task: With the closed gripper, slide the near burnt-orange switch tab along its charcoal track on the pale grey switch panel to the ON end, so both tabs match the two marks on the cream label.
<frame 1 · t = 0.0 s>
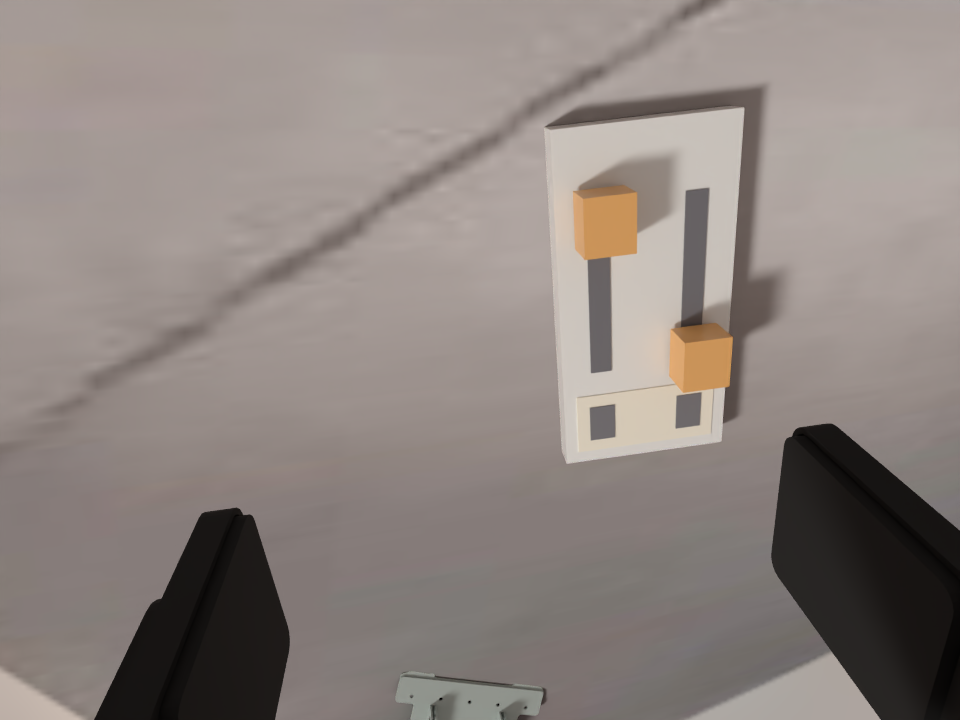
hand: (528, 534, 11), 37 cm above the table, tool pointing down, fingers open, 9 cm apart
metal bracket: (458, 717, 68), on the table
switch tab A: (604, 222, 43), point 4 cm above the table, slide at 0.0 cm
switch panel: (637, 296, 49), on the table
switch tab B: (699, 357, 48), point 4 cm above the table, slide at 11.0 cm
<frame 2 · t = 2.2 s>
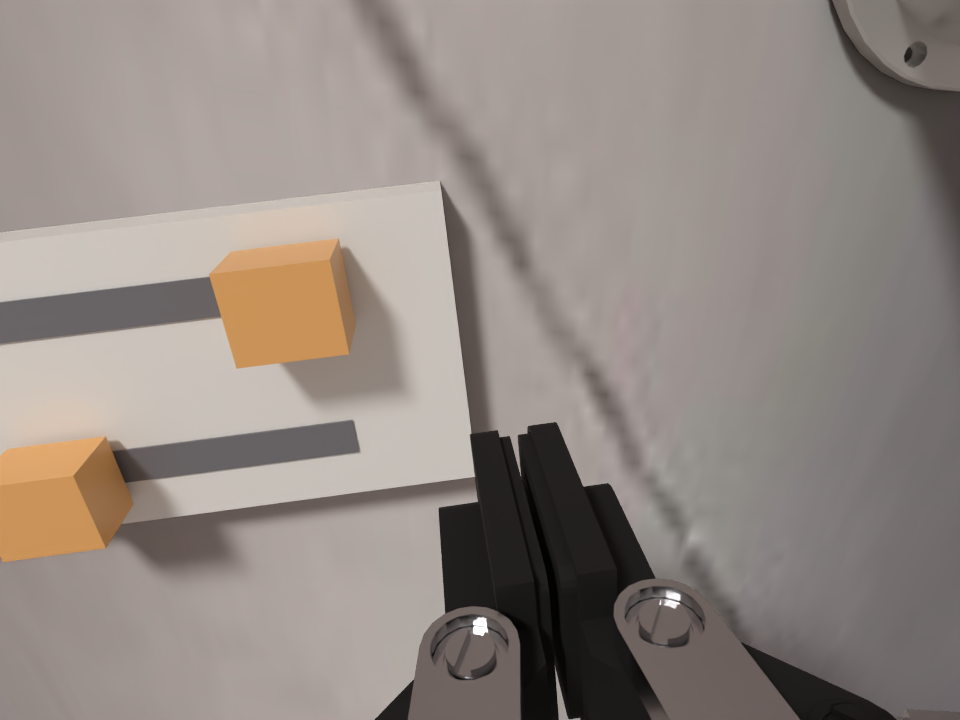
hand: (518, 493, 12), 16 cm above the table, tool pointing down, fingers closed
switch tab A: (289, 301, 23), point 4 cm above the table, slide at 0.0 cm
switch panel: (162, 367, 28), on the table
switch tab B: (55, 497, 26), point 4 cm above the table, slide at 11.0 cm
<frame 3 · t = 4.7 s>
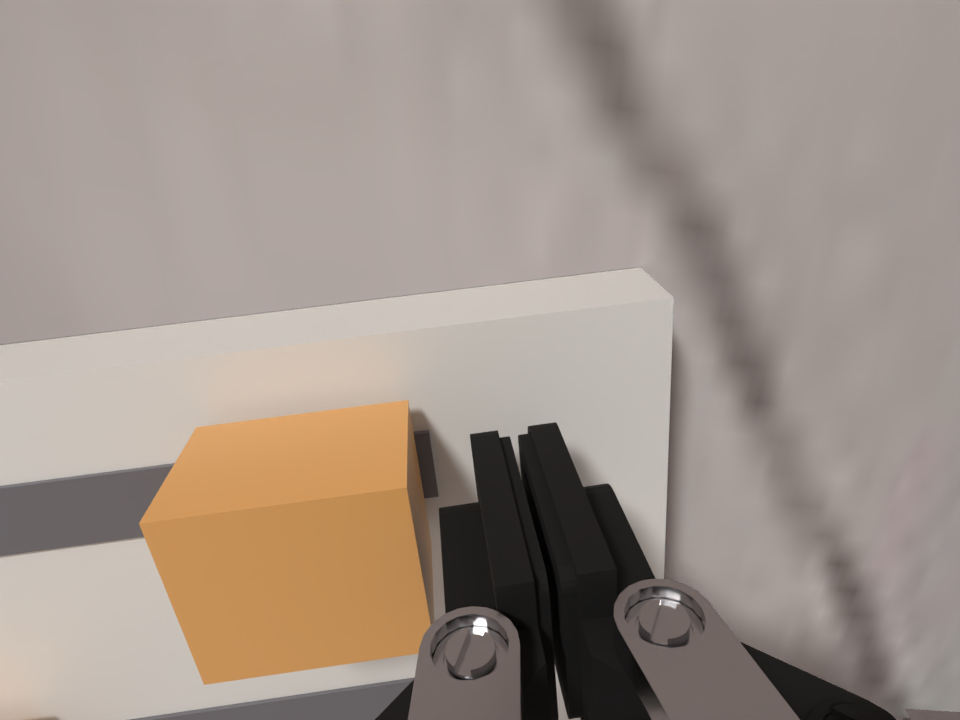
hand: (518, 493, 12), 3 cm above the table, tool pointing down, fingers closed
switch tab A: (311, 535, 12), point 4 cm above the table, slide at 1.3 cm, touching gripper
switch panel: (135, 574, 16), on the table
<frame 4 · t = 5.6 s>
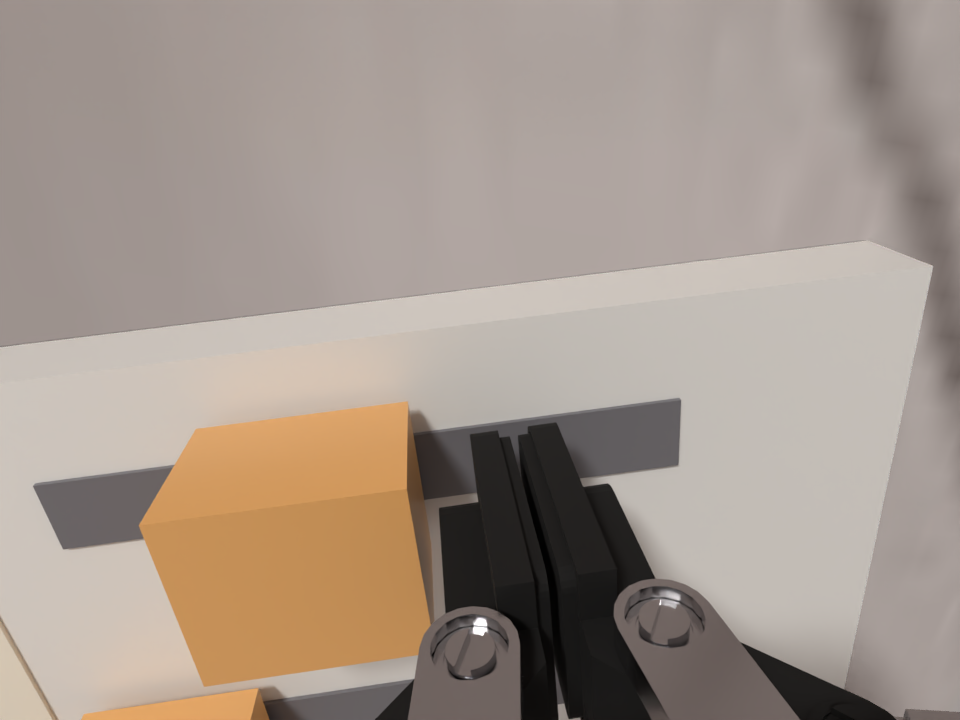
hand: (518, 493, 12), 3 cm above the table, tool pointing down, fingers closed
switch tab A: (311, 536, 12), point 4 cm above the table, slide at 6.5 cm, touching gripper
switch panel: (340, 548, 17), on the table
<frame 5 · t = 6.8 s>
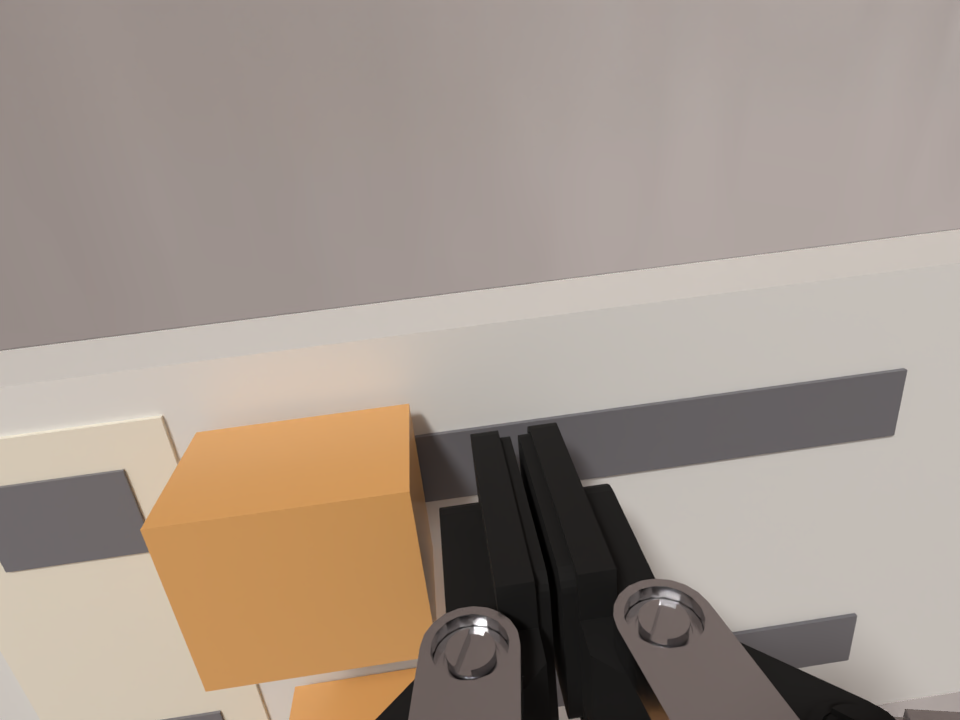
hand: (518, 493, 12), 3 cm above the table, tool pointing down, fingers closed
switch tab A: (312, 539, 12), point 4 cm above the table, slide at 11.3 cm, touching gripper
switch panel: (526, 523, 17), on the table
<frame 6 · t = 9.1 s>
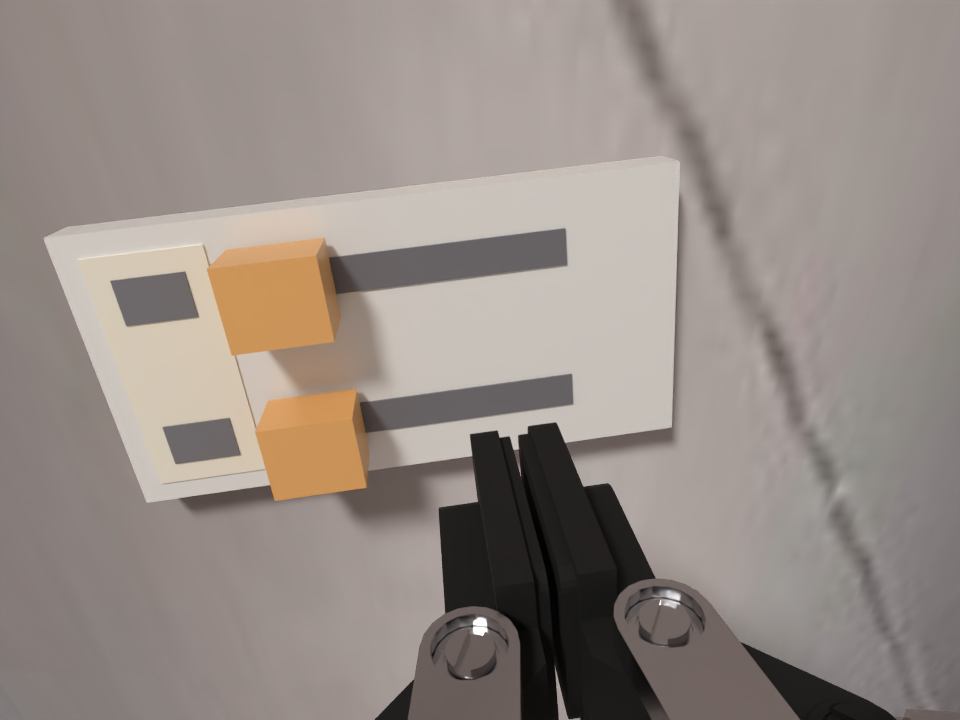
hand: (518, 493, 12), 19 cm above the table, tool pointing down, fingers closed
switch tab A: (279, 295, 26), point 4 cm above the table, slide at 11.1 cm
switch panel: (395, 327, 31), on the table
switch tab B: (316, 443, 29), point 4 cm above the table, slide at 11.0 cm
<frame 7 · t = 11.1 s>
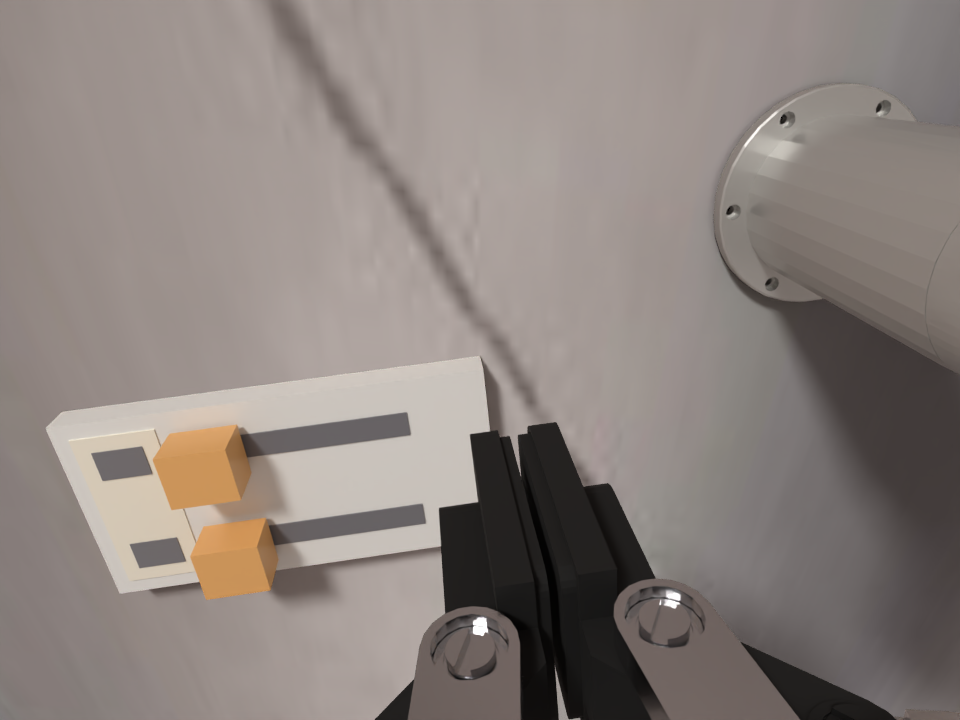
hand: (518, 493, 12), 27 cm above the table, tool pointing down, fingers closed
switch tab A: (204, 466, 38), point 4 cm above the table, slide at 11.1 cm
switch panel: (297, 469, 43), on the table
switch tab B: (236, 558, 41), point 4 cm above the table, slide at 11.0 cm
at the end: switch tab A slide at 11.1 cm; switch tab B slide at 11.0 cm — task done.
